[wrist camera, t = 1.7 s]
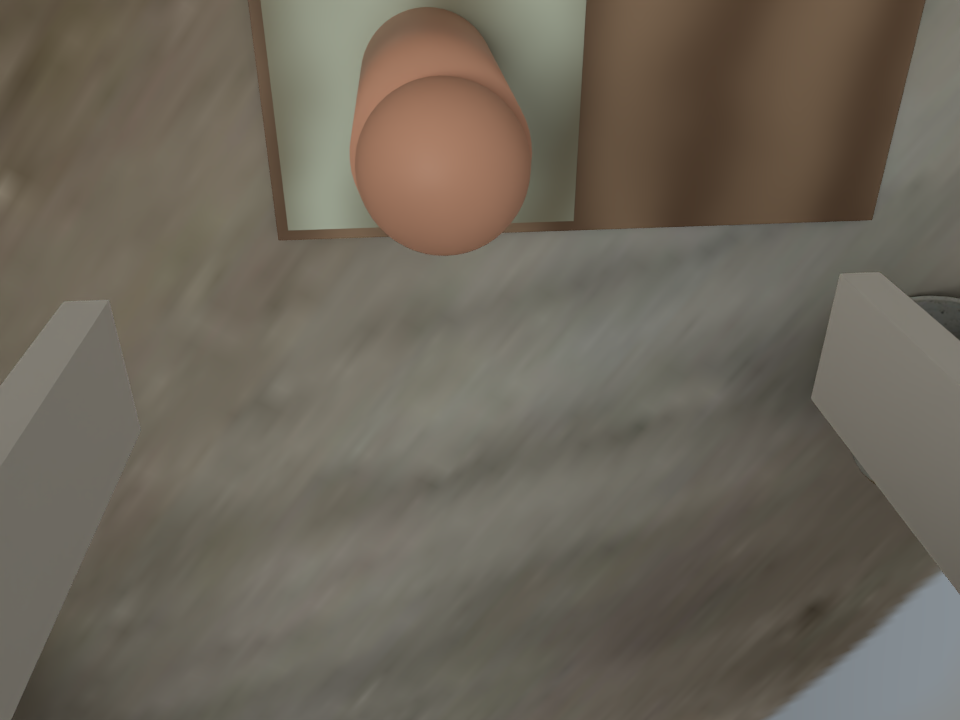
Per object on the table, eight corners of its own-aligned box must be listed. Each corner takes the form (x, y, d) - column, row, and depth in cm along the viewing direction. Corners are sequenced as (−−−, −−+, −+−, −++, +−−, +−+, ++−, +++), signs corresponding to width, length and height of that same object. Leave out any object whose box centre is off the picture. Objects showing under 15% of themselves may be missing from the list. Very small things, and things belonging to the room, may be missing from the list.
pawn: (365, 146, 37) (352, 294, 24) (355, 8, 34) (335, 93, 22) (494, 143, 37) (546, 286, 25) (495, 6, 35) (555, 89, 22)
